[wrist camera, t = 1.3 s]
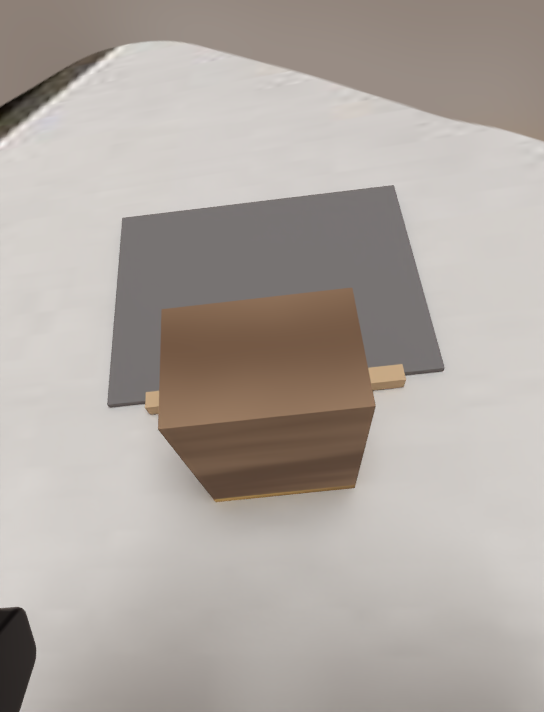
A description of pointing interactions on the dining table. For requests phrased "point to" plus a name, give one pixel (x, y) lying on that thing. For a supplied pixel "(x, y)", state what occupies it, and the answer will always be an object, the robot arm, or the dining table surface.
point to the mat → (272, 278)
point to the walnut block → (267, 393)
